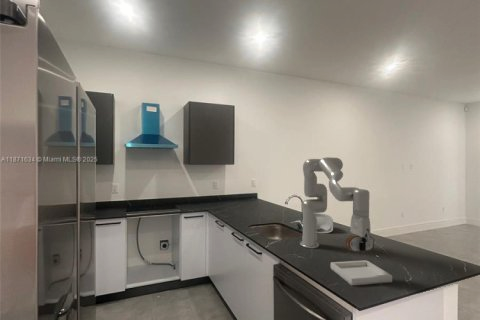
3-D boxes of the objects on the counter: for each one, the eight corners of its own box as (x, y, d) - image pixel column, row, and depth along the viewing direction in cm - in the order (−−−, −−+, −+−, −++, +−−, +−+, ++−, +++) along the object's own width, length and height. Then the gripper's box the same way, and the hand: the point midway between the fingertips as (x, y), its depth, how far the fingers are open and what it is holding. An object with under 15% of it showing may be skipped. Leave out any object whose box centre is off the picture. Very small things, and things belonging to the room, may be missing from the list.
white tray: (330, 268, 131) (330, 262, 131) (366, 265, 135) (366, 260, 135) (351, 285, 113) (351, 278, 113) (392, 282, 117) (392, 275, 117)
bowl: (328, 227, 212) (329, 214, 212) (333, 234, 194) (333, 219, 194) (305, 226, 216) (305, 212, 216) (307, 232, 197) (307, 217, 197)
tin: (371, 249, 127) (371, 233, 127) (375, 251, 124) (375, 234, 124) (345, 250, 124) (345, 234, 124) (349, 252, 121) (349, 235, 121)
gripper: (344, 210, 132) (344, 243, 131) (365, 217, 116) (364, 255, 116) (357, 210, 133) (356, 243, 133) (379, 216, 117) (378, 254, 117)
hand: (360, 248), depth 124 cm, fingers closed on tin, 2 cm apart
